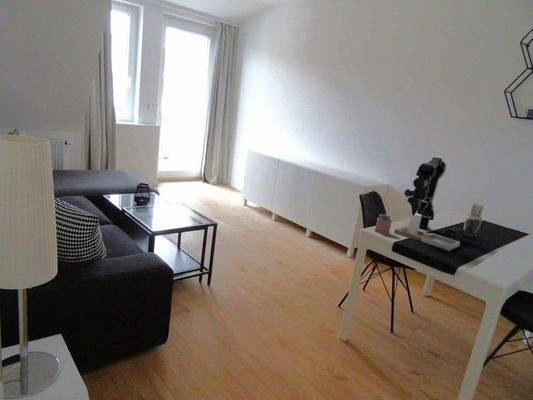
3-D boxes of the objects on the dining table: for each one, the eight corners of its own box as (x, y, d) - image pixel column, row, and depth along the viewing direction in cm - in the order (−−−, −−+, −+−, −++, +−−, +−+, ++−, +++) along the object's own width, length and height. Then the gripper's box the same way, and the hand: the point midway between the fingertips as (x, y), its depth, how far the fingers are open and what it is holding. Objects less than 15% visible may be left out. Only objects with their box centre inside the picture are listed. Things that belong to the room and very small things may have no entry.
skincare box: (409, 232, 212) (414, 212, 210) (417, 235, 210) (422, 214, 207) (405, 234, 208) (410, 213, 205) (413, 237, 205) (418, 216, 202)
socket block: (405, 229, 218) (406, 226, 218) (428, 237, 209) (429, 233, 208) (394, 232, 208) (395, 229, 208) (418, 240, 199) (419, 237, 198)
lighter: (388, 232, 207) (392, 215, 205) (389, 234, 204) (393, 216, 202) (374, 230, 208) (377, 213, 206) (375, 231, 205) (378, 214, 202)
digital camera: (451, 237, 214) (454, 226, 213) (461, 241, 210) (464, 229, 209) (443, 239, 208) (446, 227, 206) (452, 243, 204) (455, 231, 202)
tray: (431, 237, 208) (432, 233, 208) (458, 246, 198) (460, 242, 198) (420, 241, 198) (421, 236, 197) (449, 251, 188) (450, 246, 187)
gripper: (415, 183, 214) (409, 209, 218) (401, 184, 201) (395, 212, 205) (434, 187, 207) (428, 214, 210) (421, 189, 194) (414, 217, 197)
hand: (416, 214), depth 206 cm, fingers open, 8 cm apart
